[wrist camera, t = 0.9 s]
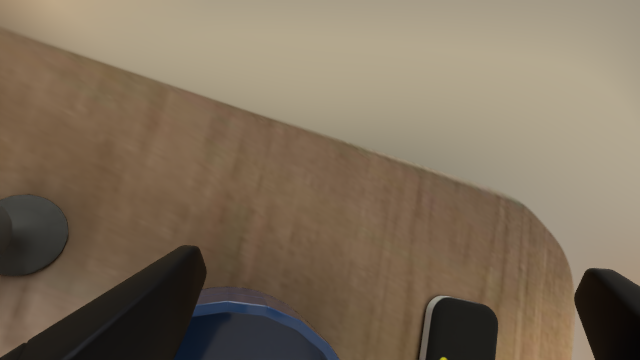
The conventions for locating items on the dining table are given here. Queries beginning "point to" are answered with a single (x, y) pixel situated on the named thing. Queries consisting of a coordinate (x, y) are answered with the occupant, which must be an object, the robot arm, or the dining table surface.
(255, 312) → the pot
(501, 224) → the dining table surface
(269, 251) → the dining table surface
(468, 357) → the remote control
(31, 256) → the sundae
